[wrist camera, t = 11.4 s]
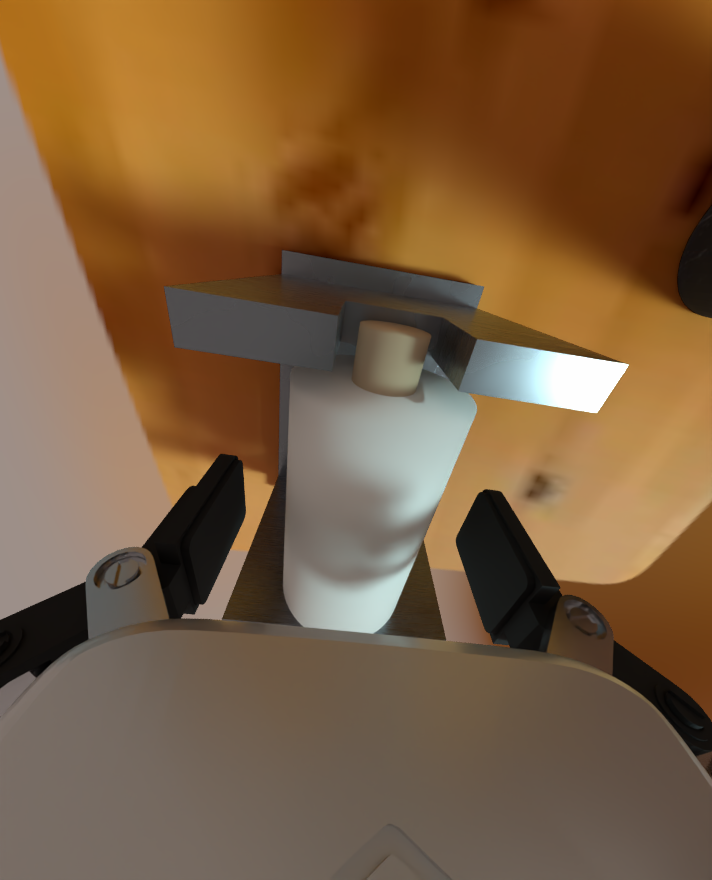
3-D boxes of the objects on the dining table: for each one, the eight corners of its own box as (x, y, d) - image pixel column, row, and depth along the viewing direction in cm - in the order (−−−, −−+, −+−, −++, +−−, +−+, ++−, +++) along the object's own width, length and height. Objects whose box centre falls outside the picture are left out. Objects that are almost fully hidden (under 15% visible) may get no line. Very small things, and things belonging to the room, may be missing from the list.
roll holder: (287, 251, 15) (152, 223, 5) (476, 285, 15) (659, 316, 6) (281, 487, 23) (226, 643, 13) (403, 503, 23) (432, 661, 14)
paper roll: (310, 300, 10) (264, 332, 5) (462, 326, 10) (546, 378, 6) (294, 543, 17) (268, 653, 12) (387, 554, 17) (396, 664, 13)
